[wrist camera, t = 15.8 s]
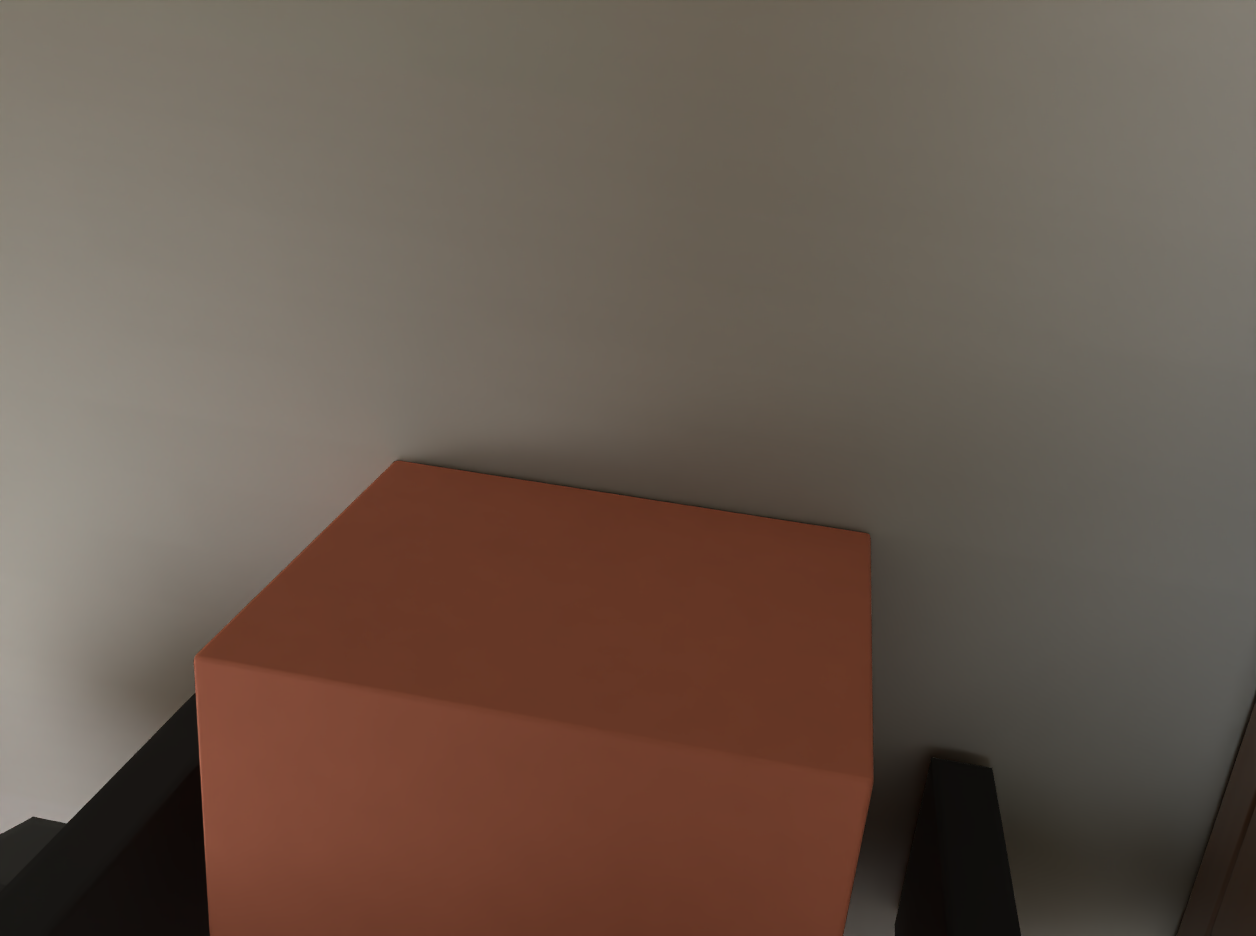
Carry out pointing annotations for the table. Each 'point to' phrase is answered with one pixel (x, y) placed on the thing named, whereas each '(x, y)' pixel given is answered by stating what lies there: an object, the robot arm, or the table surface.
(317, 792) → the reddish brown rectangular block
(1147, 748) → the table surface
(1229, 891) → the frame
